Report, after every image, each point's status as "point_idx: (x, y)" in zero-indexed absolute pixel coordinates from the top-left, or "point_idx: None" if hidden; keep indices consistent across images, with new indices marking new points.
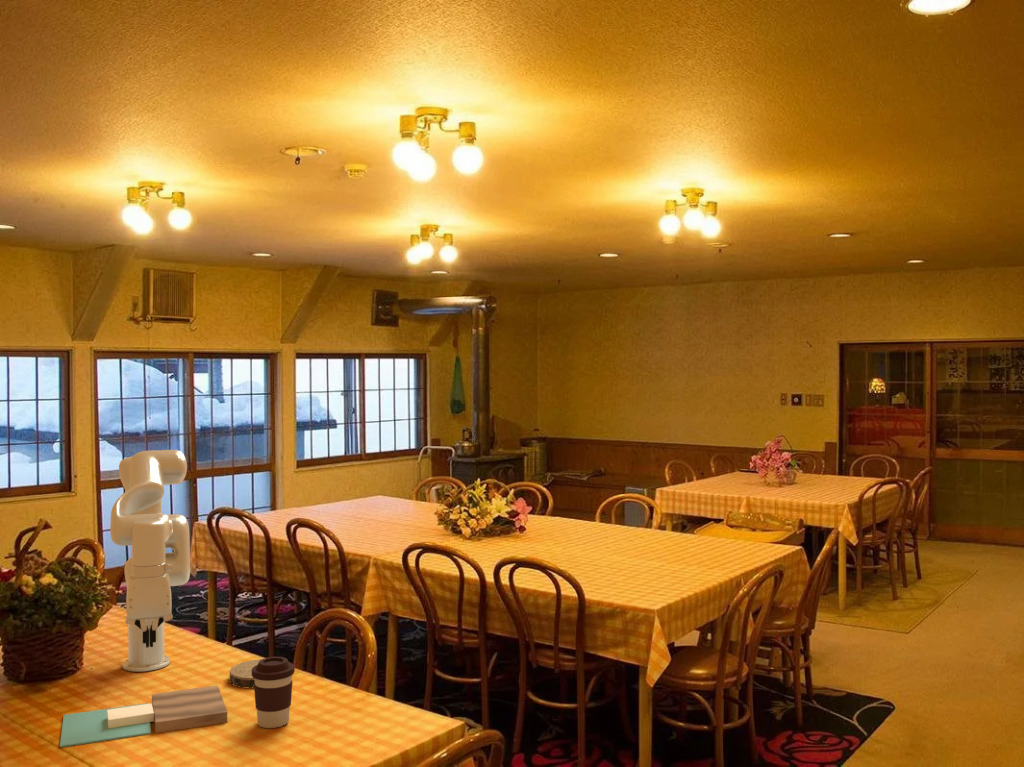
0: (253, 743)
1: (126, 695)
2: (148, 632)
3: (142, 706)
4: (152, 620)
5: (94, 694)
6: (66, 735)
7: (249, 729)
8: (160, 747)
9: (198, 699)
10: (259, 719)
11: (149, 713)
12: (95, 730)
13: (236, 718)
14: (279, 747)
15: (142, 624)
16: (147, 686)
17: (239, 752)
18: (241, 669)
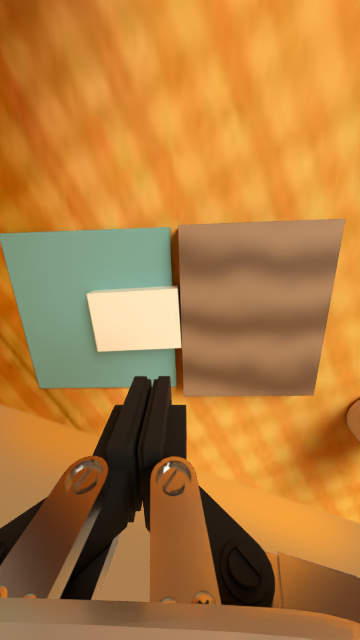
0: (315, 467)
1: (116, 125)
2: (137, 510)
3: (158, 301)
4: (151, 551)
5: (30, 75)
6: (37, 349)
7: (327, 422)
8: (189, 435)
9: (277, 306)
10: (353, 433)
11: (172, 347)
12: (82, 345)
13: (323, 372)
14: (342, 488)
15: (68, 597)
16: (168, 54)
17: (289, 484)
18: None
